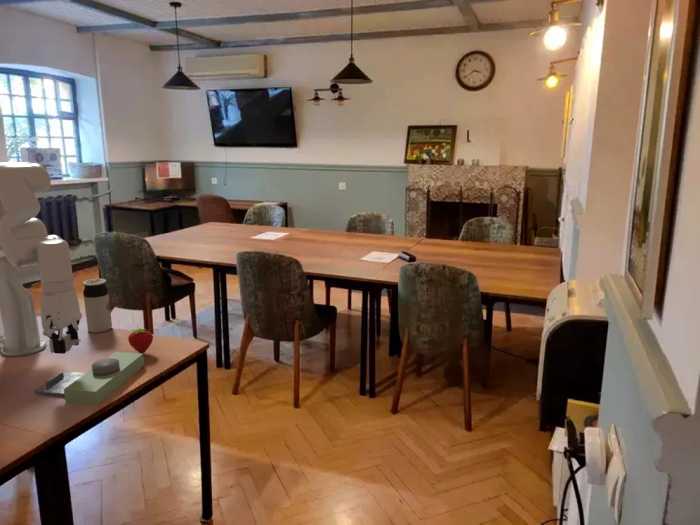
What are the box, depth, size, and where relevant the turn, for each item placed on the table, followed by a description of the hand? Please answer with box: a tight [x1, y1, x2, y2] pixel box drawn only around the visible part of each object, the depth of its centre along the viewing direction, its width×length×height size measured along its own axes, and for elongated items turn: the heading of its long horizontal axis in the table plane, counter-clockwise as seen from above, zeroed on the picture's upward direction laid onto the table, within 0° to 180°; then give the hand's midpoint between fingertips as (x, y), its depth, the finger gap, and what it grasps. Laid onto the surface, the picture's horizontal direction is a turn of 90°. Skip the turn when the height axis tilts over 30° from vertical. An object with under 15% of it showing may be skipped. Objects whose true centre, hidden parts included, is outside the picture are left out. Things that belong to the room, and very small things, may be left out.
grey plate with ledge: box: [34, 371, 86, 398], centre depth 146 cm, size 10×12×2 cm
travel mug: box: [82, 278, 113, 334], centre depth 185 cm, size 8×8×18 cm
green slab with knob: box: [64, 351, 145, 406], centre depth 147 cm, size 9×24×6 cm, turn 173°
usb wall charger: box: [48, 333, 82, 354], centre depth 143 cm, size 4×7×4 cm, turn 105°
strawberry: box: [127, 327, 154, 355], centre depth 166 cm, size 6×8×10 cm
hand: (66, 348), depth 143 cm, fingers closed on usb wall charger, 4 cm apart
